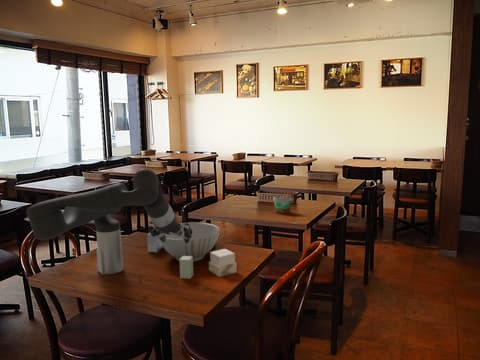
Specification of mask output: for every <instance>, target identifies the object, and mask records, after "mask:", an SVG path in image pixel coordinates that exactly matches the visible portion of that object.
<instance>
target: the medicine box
mask: <svg viewBox="0 0 480 360" xmlns="http://www.w3.org/2000/svg"><path fill="white" fill-rule="evenodd" d="M146 237H147V239H146V240H147V251H148V253H158V252H159V251H160V250H162V248H163V249H164V247H163V246H162V244H161V242H160V240H159V238H158V237H157V236H155V237H153V236H152V235H151V234H150V232H148V233H147V234H146Z"/></svg>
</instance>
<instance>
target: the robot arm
mask: <svg viewBox="0 0 480 360" xmlns="http://www.w3.org/2000/svg"><path fill="white" fill-rule="evenodd" d="M132 183H133V185H132V186H133V187H132V188H133V190H131V191H129V189H128V187H127V186H126V184H124V183H123V182H117V183H114V184H111V185H108V186H104V187H101V188H98V189H95V190H90V191H87V192H86V191H85V192H82V193H75V194H71V195H66V196H61V197H57V198H53V199H52V198H51V199H47V200H44V201H41V202H37V203H35V204H32V205H31V206H29V207H28V208H27V209H26V215H27V218H28V221H29V225H30V227H31V230H32V233H33V235H34V237H35V238H36V239H37V240H39V241H47V240H52V239H54V238H57V237H58V236H61V235H63V234H65V233H67V232H68V231H70V230H72V229H74V228H76V227H80V226H83V225H85V224H88V223H90V222H92V221H94V226H95V231H96V233H95V234H96V244H97V245H96V246H97V248H96V260H97V272H99V274H101V275H102V276H103V275H105V276H106V275H115V274H118V273H120V272H123V270H124V262H123V260H124V259H123V249H122V248H123V247H122V233H121V231H122V230H121V223H120V221H119V220H117V219H115V218H113V217H111V216H110V215H111V214H116V213H119V212H120V211H121V209H122V208H123V207H136V206H143V208H144V210H145V211H146V214H147V215H148V217H149V220H150V221H149V224H148V227H147V229H148V231H149V232H148V233H150V234H151V235H152V236H153V237H155V236H157V237H158V238H159V239H160V240H161V241H162V242H165V240H166V236H165V235H164V234H172V235H175V236H177V237H182V238H183V239H184V241H185V243H188V242H189V240H190V238H191V237H192V232H193V231H192V229H191V228H190V226H189V224H188V223H189V222H184V223H185V225H180V223H179V222H178V217H177V215H176V214H175V212H174V210H173V208H172V207H171V205H170V204H169V202H168V200H167V199H166V197H165V195H164V193H163V190H162V186H161V183H160V180H159V177H158V176H157V174H156V173H155V172H154V171H153V170H150V169H148V168H140V169H139V170H137V171H136V172H135V173H134V175H133V178H132ZM62 208H64V210H62ZM178 231H179V234H178ZM182 233H184V235H183V234H182Z"/></svg>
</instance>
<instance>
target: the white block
mask: <svg viewBox="0 0 480 360" xmlns="http://www.w3.org/2000/svg"><path fill="white" fill-rule="evenodd" d="M209 252H210V261H211V262H212V263H214V264H215V265H217V266H219V267H221V266H225V265H229V264H233V263H236V262H235V261H236V257H235V256H236V254H235V252H232V251H231V250H228V249H227V248H221V249H218V250H213V251H209Z"/></svg>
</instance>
